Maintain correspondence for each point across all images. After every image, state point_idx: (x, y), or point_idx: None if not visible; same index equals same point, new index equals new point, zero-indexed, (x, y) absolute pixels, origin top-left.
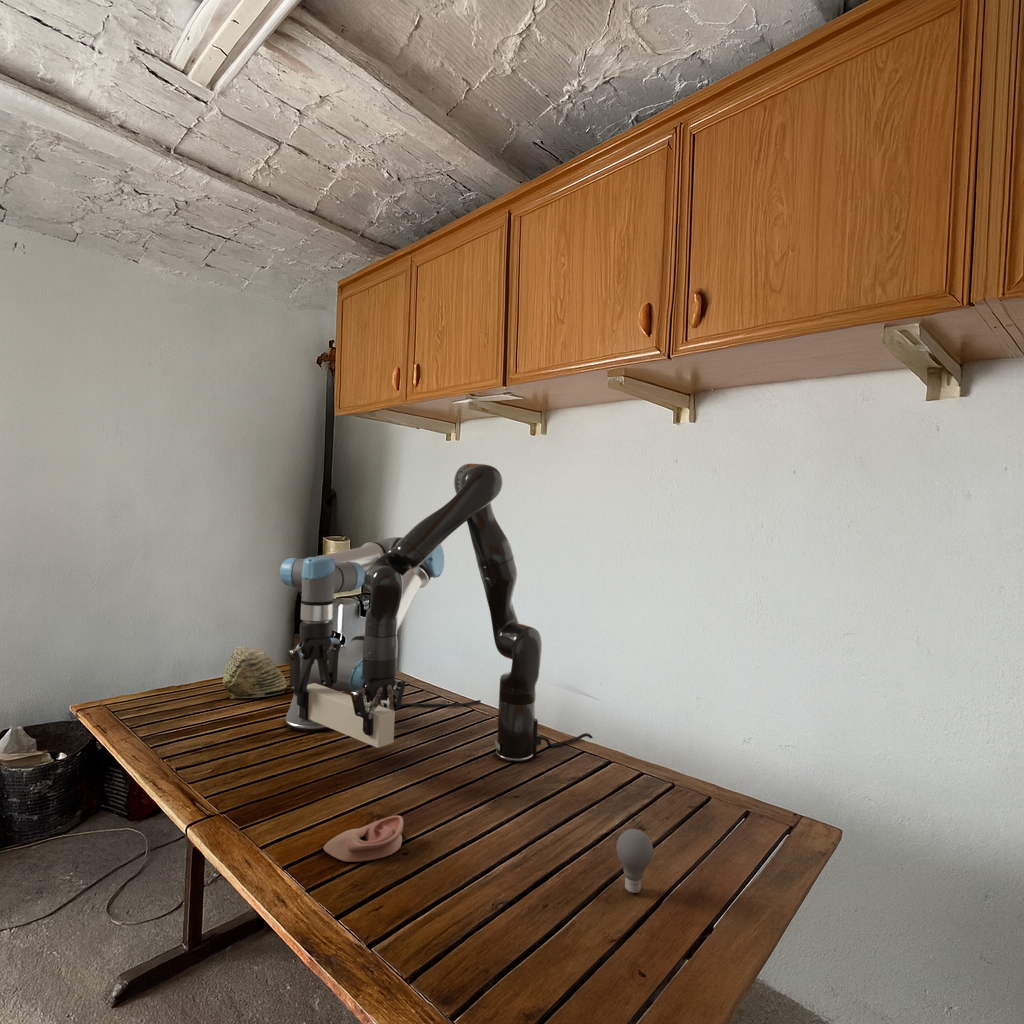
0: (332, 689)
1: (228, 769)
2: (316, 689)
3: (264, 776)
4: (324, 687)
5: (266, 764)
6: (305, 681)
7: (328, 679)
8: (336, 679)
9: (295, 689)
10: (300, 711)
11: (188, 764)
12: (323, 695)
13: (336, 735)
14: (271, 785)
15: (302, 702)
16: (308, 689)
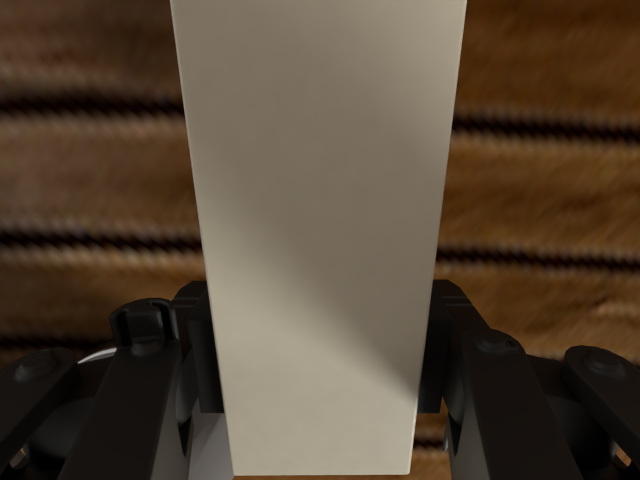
0: (201, 168)
1: (569, 279)
2: (356, 300)
3: (545, 149)
4: (237, 305)
5: (473, 232)
6: (536, 433)
7: (124, 395)
8: (4, 376)
9: (634, 369)
10: None
11: None
12: (464, 10)
13: (152, 282)
14: (587, 58)
15: (441, 293)
16: (416, 355)
